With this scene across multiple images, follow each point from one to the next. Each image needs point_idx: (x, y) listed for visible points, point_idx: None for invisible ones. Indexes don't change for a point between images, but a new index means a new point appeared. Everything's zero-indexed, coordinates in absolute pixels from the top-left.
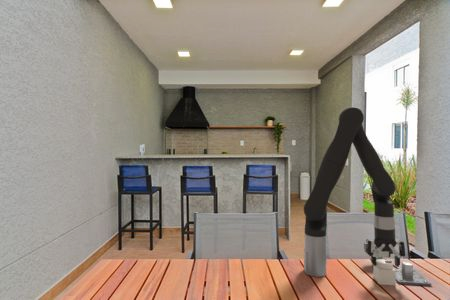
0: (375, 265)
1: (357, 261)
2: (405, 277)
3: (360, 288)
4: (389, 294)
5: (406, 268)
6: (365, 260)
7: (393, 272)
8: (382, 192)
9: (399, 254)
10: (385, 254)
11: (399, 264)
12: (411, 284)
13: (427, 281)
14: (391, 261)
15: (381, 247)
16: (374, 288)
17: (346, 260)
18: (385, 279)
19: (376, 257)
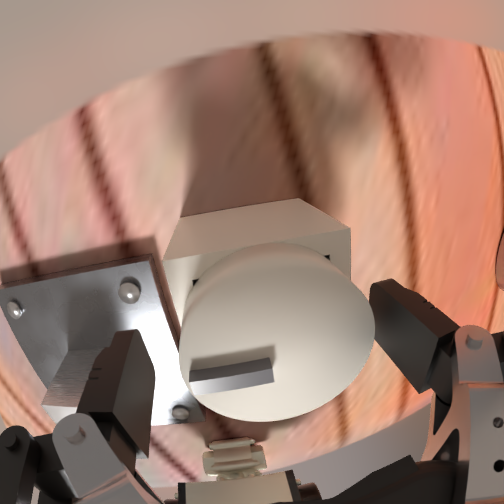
0: (380, 281)
1: (323, 439)
2: (103, 338)
3: (417, 109)
4: (263, 53)
5: (81, 387)
6: (282, 458)
7: (188, 246)
8: None
9: (65, 464)
10: (205, 494)
11: (103, 354)
12: (78, 268)
13: (8, 313)
14: (191, 385)
15: (496, 498)
16: (344, 121)
17: (367, 426)
18: (260, 213)
19: (244, 476)
